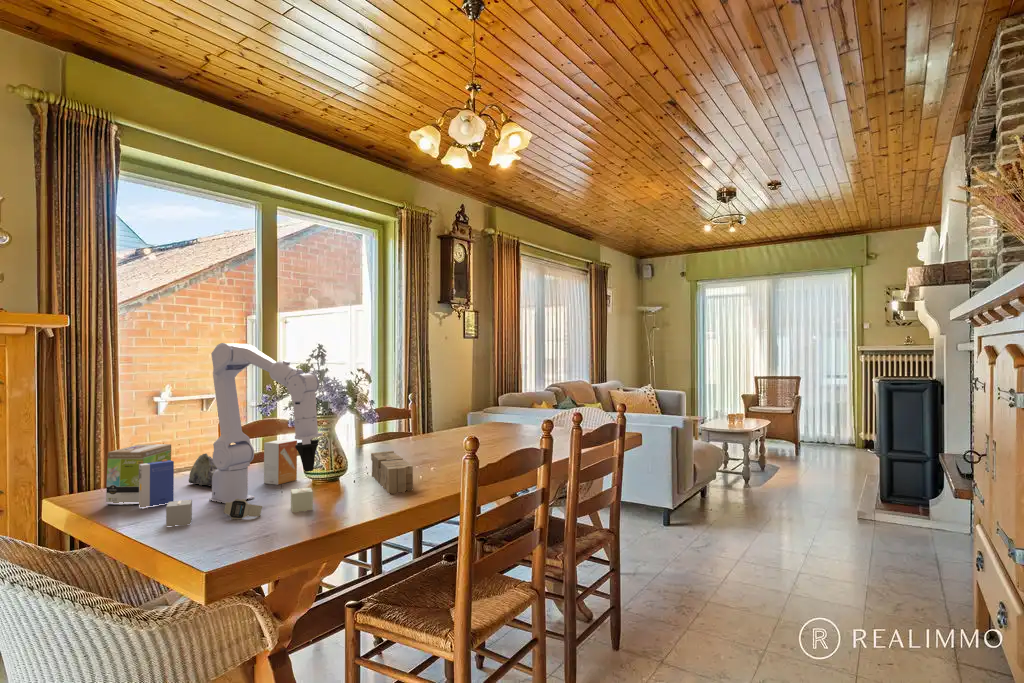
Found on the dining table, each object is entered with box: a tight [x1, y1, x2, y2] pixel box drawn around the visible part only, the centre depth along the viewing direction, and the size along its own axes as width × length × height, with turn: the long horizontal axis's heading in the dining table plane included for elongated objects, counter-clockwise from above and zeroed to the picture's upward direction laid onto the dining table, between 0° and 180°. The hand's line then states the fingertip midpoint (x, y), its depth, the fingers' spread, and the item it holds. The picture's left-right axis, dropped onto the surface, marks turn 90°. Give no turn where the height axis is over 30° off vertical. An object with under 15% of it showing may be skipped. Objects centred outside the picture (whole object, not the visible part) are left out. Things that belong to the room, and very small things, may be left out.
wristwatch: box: [223, 499, 263, 520], centre depth 145 cm, size 9×6×5 cm
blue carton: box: [138, 459, 175, 507], centre depth 156 cm, size 8×3×12 cm, turn 139°
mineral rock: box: [188, 453, 217, 486], centre depth 179 cm, size 13×11×10 cm
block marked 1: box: [165, 499, 193, 527], centre depth 139 cm, size 5×5×5 cm
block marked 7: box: [290, 487, 314, 513], centre depth 151 cm, size 5×5×5 cm
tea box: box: [105, 443, 172, 503], centre depth 164 cm, size 15×10×15 cm
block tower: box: [370, 450, 414, 494], centre depth 182 cm, size 8×8×29 cm
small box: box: [263, 438, 298, 486], centre depth 185 cm, size 8×6×13 cm
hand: (309, 469), depth 153 cm, fingers open, 7 cm apart
